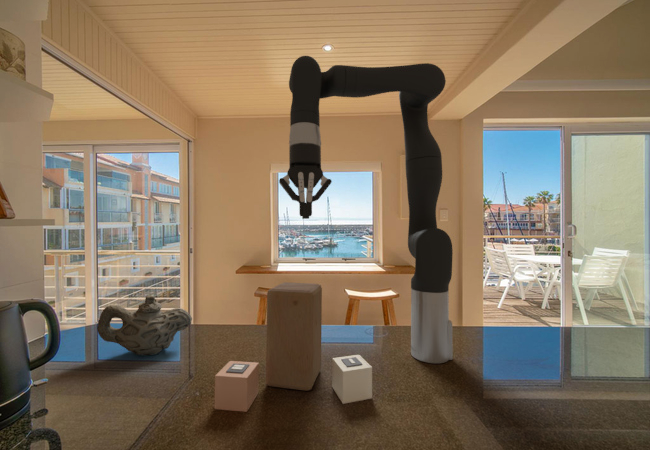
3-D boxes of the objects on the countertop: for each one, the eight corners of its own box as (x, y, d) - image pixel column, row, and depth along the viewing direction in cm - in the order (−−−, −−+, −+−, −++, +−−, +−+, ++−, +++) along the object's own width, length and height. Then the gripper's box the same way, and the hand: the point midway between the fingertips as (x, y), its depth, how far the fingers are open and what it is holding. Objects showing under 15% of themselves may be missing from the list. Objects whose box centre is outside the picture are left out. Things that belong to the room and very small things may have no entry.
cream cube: (358, 383, 61) (359, 352, 61) (372, 398, 55) (372, 365, 56) (332, 387, 59) (332, 356, 59) (342, 404, 54) (343, 369, 54)
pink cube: (258, 393, 57) (258, 360, 57) (246, 412, 51) (247, 375, 51) (229, 391, 58) (230, 359, 58) (214, 409, 52) (215, 373, 52)
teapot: (191, 339, 85) (192, 288, 85) (191, 354, 75) (193, 295, 75) (102, 351, 76) (103, 294, 76) (88, 370, 65) (90, 304, 66)
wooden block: (311, 393, 57) (312, 291, 57) (264, 387, 59) (265, 289, 59) (322, 369, 67) (322, 283, 67) (281, 365, 69) (282, 281, 69)
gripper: (329, 151, 74) (330, 219, 73) (277, 149, 72) (277, 219, 71) (335, 142, 66) (335, 217, 66) (277, 140, 64) (277, 217, 64)
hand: (305, 218), depth 68 cm, fingers closed
